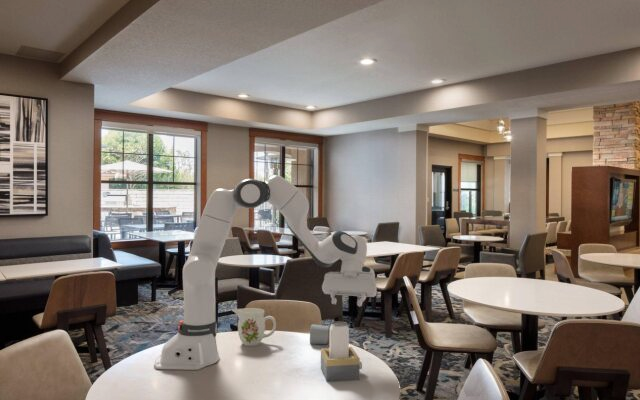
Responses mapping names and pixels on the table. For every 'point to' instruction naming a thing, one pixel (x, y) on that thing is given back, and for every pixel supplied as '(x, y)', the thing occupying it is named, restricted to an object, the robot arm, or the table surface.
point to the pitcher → (252, 325)
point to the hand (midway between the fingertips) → (346, 304)
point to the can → (339, 340)
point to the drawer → (340, 366)
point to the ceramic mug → (319, 334)
